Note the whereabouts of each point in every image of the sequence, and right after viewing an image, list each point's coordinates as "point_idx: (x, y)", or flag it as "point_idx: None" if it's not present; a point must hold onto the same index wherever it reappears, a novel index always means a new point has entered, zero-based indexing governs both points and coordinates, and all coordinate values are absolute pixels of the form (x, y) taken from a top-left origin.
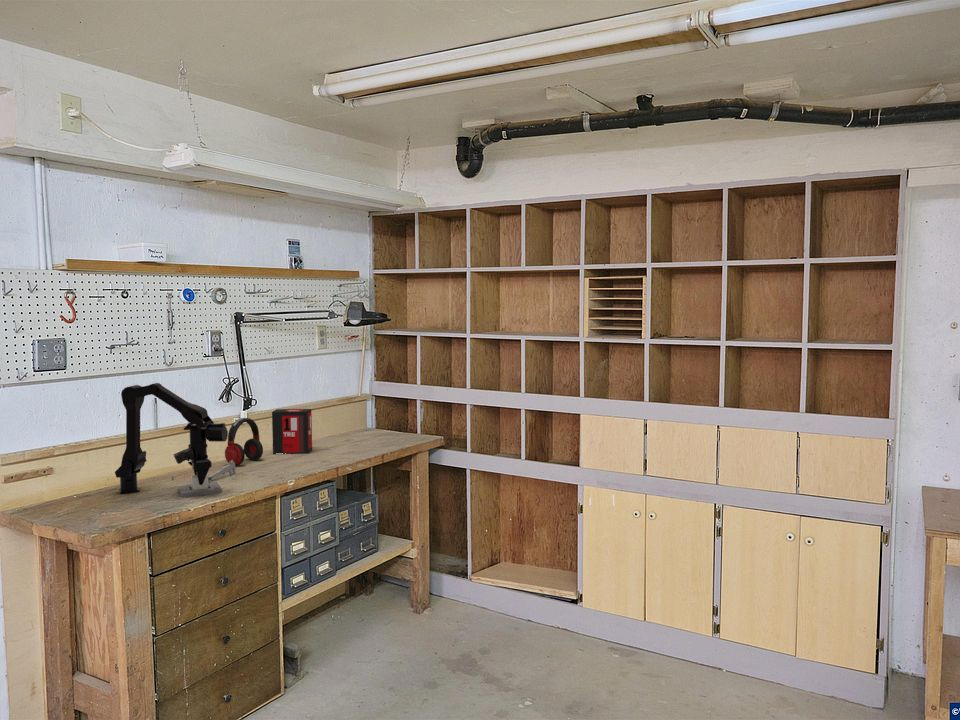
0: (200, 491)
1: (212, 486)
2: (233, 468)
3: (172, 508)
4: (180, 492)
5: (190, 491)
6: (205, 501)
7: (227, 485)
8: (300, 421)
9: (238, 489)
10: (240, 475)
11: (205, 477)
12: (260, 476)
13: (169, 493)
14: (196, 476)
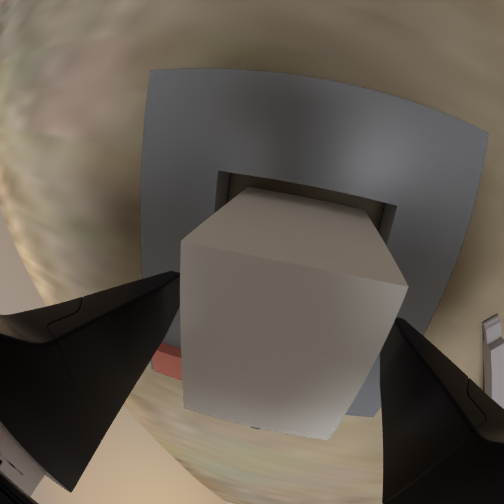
0: (142, 234)
1: None
2: None
3: (13, 41)
4: (258, 73)
5: (175, 155)
6: (29, 202)
7: None
8: None
9: (193, 417)
10: None
11: (186, 382)
12: (359, 499)
13: (403, 31)
14: (257, 331)
